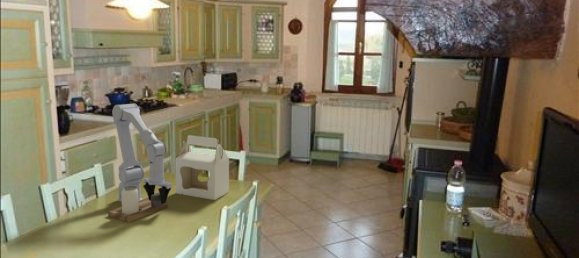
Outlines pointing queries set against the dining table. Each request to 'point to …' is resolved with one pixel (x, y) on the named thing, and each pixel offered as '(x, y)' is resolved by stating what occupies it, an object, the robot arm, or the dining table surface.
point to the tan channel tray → (140, 209)
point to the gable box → (212, 163)
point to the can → (129, 200)
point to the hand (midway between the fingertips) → (157, 201)
